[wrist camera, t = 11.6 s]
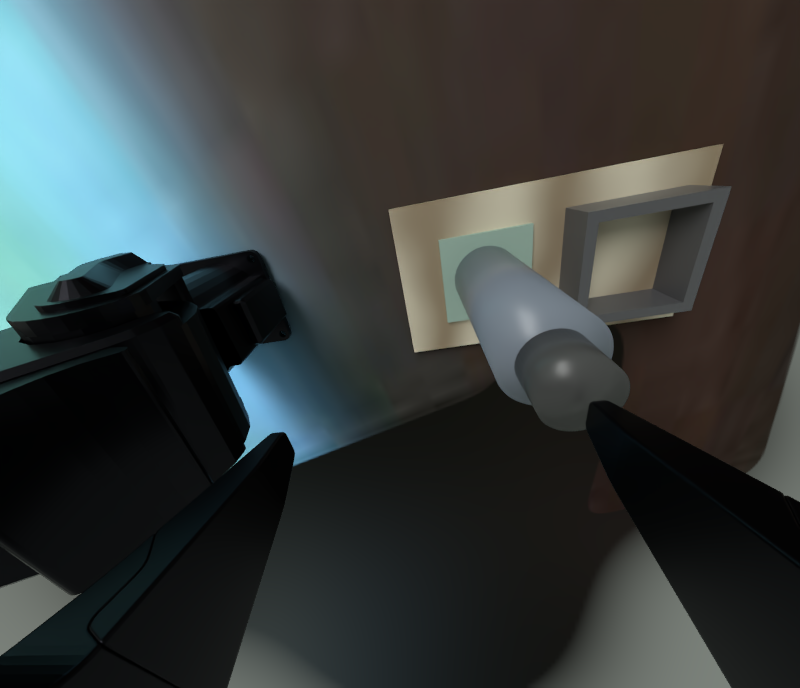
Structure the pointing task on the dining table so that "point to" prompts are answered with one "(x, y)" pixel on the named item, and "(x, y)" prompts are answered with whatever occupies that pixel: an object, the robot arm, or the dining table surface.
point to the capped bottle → (539, 339)
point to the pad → (457, 248)
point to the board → (542, 234)
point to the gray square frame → (679, 257)
